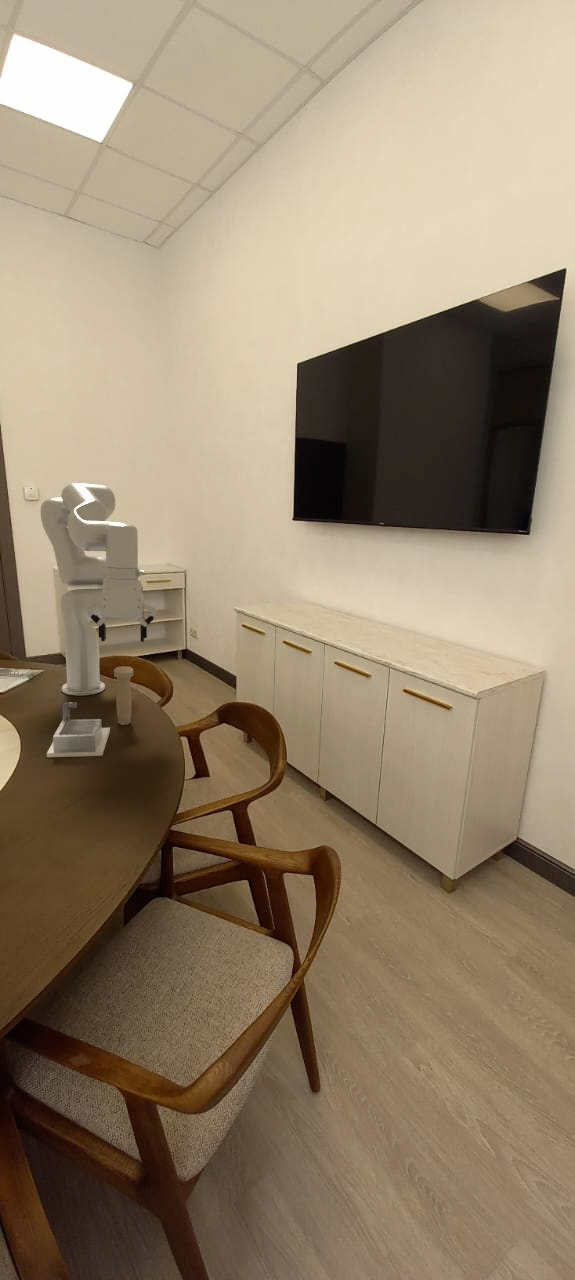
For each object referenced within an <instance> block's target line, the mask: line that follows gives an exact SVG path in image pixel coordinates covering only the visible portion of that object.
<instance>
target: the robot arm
mask: <svg viewBox="0 0 575 1280" xmlns="http://www.w3.org/2000/svg"><path fill="white" fill-rule="evenodd" d="M60 496H61V497H52V498H48V499H47V498H46V499H45V500H44V501H43V502H42V503H41V506H40V519H41V523H42V524H41V525H42V527H43V529H44V532H45V534H46V536H47V538H48V540H49V542H50V543H51V545H52V549H53V552H54V556H55V557H54V558H55V561H56V565H57V566H56V567H57V570H58V575H59V579H60V581H61V583H62V585H63V586H65V587H67V588H76V589H72V590H68V591H66V592H64V593H63V594H62V595H61V597H60V609H61V614H62V618H63V619H62V620H63V624H64V637H65V638H64V640H65V662H66V665H65V666H66V683H64V684H62V686H61V692H63V694H66V695H70V696H89V695H90V696H91V695H96V694H98V693H101V692H103V691H105V689H106V684H105V683H104V682H102V681H101V680H100V679H101V678H100V677H101V676H100V645H99V644H100V642H105V641H106V640H107V639H106V638H107V633H106V631H107V630H106V629H107V627H106V623H105V622H106V621H107V620H137V621H138V622H139V623H140V624H141V625H140V642H141V643H144V642H145V639H147V637H148V632H147V631H148V627H147V626H148V625H150V624H151V622H153V620H154V619H155V617H156V615H157V614H158V612H159V610H158V608H156V607H155V606H153V605H150V604H149V603H147V602H145V600H144V588H143V584H142V579H139V577H141V576H142V577H143V576H145V572H144V570H141V569H140V568H139V567H138V565H139V564H138V563H139V559H138V558H139V556H138V551H139V550H138V549H139V548H138V547H139V546H138V543H139V541H138V537H139V536H138V529H137V527H136V525H134V524H131V523H130V524H127V523H125V522H121V521H120V522H119V521H106V520H108V519H109V517H110V516H111V515H112V514H113V513H114V511H115V508H116V496H115V494H114V492H113V490H112V489H111V488H110V487H108V486H106V485H104V484H94V483H92V484H91V483H80V482H73V483H69V484H67V485H66V486H65V487H63V489H62V491H61V495H60ZM85 551H86V552H105V557H103V556H88V555H86V553H85ZM145 610H147V611H148V612H150V614H149V616H148V617H147V618H146V617H145V616H144V612H145ZM91 621H93V623H95V624H96V625H97V626H98V630H97V629H96V628H95V627H94V626H93V625H92V624H91ZM99 638H100V639H101V641H100V640H99ZM99 641H100V642H99Z"/></svg>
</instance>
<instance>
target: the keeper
mask: <svg viewBox="0 0 575 1280" xmlns="http://www.w3.org/2000/svg"><path fill="white" fill-rule="evenodd" d="M77 708H78V703H77V702H75V701H74V702H64V703H63V704H62V720H61V722H60V723H59V725H58V727H57V729H56V731H55V732H54V734H53V736H52V743H51V745H50V747H49V749H47V752H46V758H66V757H67V758H68V757H69V758H71V757H72V758H73V757H98V756H99V757H100V756H102V757H103V755H104V751H105V749H106V746H107V742H108V739H109V736H110V732H111V727H103V725H102V719H101V718H97V719H96V718H93V719H87V718H85V719H71V709H77Z"/></svg>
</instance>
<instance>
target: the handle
mask: <svg viewBox="0 0 575 1280" xmlns="http://www.w3.org/2000/svg"><path fill="white" fill-rule="evenodd" d="M113 676H114V678H116V679H117V680H116V682H117V683H116V700H115V701H116V706H115V707H116V715H117V717H116V718H117V723H118V724H119V725H120V726H128V725H129V724H131V721H132V718H131V717H132V709H133V708H132V707H133V706H132V704H133V703H132V689H131V688H132V687H131V678H132V677H133V676H134V668H132V667H131V666H117V667H115V668H114V669H113Z"/></svg>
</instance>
